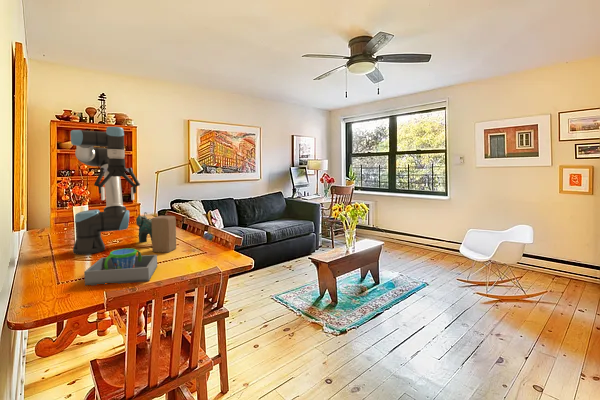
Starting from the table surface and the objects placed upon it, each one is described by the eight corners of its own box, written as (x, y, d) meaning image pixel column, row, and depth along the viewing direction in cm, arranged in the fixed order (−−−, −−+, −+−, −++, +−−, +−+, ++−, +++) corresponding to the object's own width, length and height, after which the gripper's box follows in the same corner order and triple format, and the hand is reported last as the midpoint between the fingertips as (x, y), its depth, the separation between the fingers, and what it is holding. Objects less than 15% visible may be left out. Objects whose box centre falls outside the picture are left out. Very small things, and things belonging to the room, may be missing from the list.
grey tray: (85, 285, 127) (84, 271, 126) (102, 269, 146) (101, 257, 145) (148, 281, 133) (148, 267, 132) (157, 266, 152) (156, 254, 151)
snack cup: (110, 280, 130) (108, 257, 129) (100, 275, 136) (99, 252, 135) (147, 271, 142) (146, 249, 141) (136, 266, 149) (136, 245, 147)
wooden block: (177, 248, 185) (176, 215, 183) (168, 253, 175) (167, 218, 173) (161, 247, 186) (160, 215, 184) (151, 252, 176) (150, 217, 174)
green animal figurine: (135, 242, 199) (134, 211, 196) (145, 240, 204) (144, 210, 202) (152, 247, 187) (151, 214, 185) (162, 245, 193) (161, 213, 190)
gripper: (85, 157, 149) (87, 200, 151) (141, 158, 155) (143, 200, 157) (91, 157, 156) (93, 199, 158) (145, 158, 162) (146, 198, 165)
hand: (118, 199), depth 158 cm, fingers open, 13 cm apart
